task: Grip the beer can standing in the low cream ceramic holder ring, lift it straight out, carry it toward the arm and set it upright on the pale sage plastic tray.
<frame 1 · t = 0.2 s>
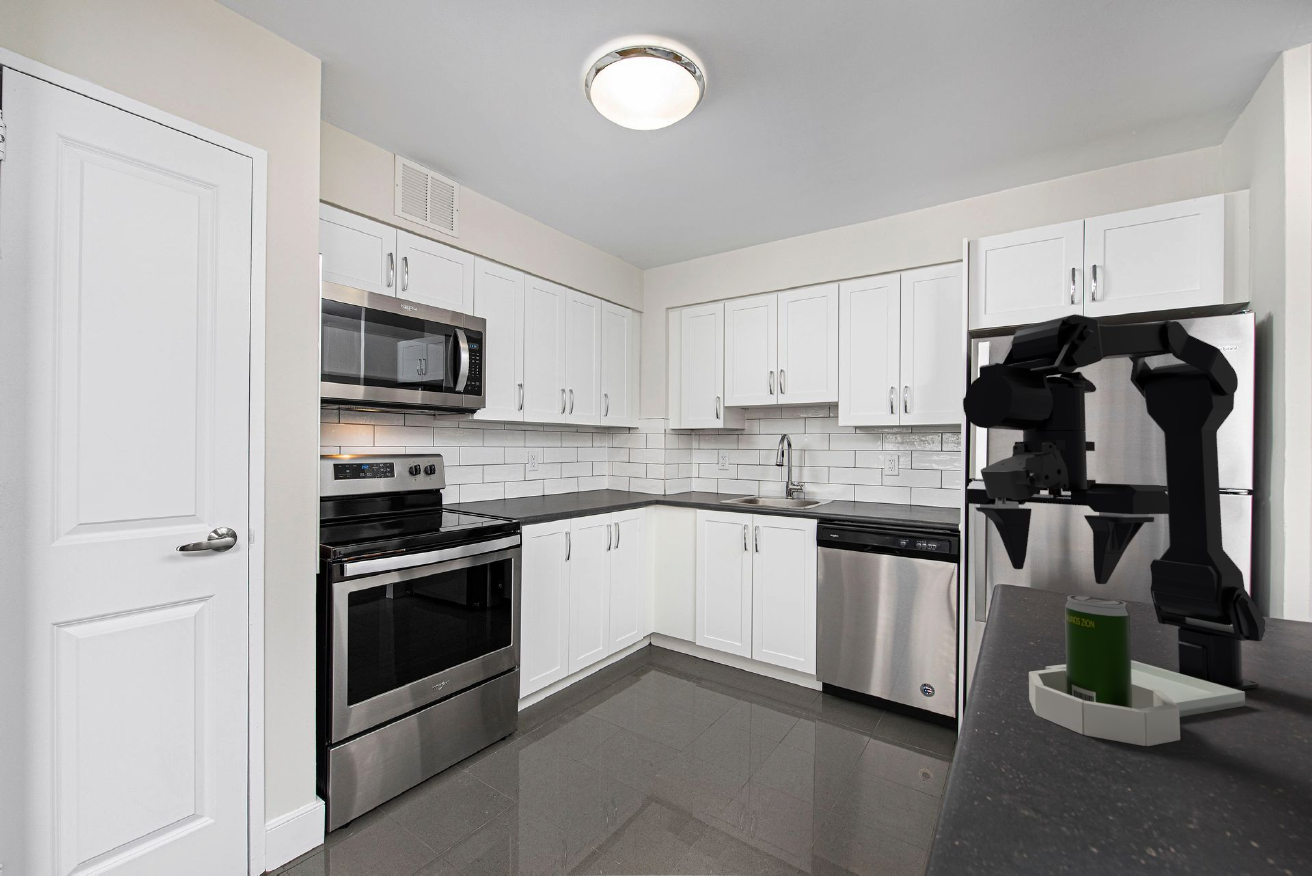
hand: (1056, 575, 63), 14 cm above the countertop, fingers open, 9 cm apart
beer can: (1099, 720, 60), resting in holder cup
tray: (1140, 691, 68), on the countertop
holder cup: (1098, 717, 60), on the countertop
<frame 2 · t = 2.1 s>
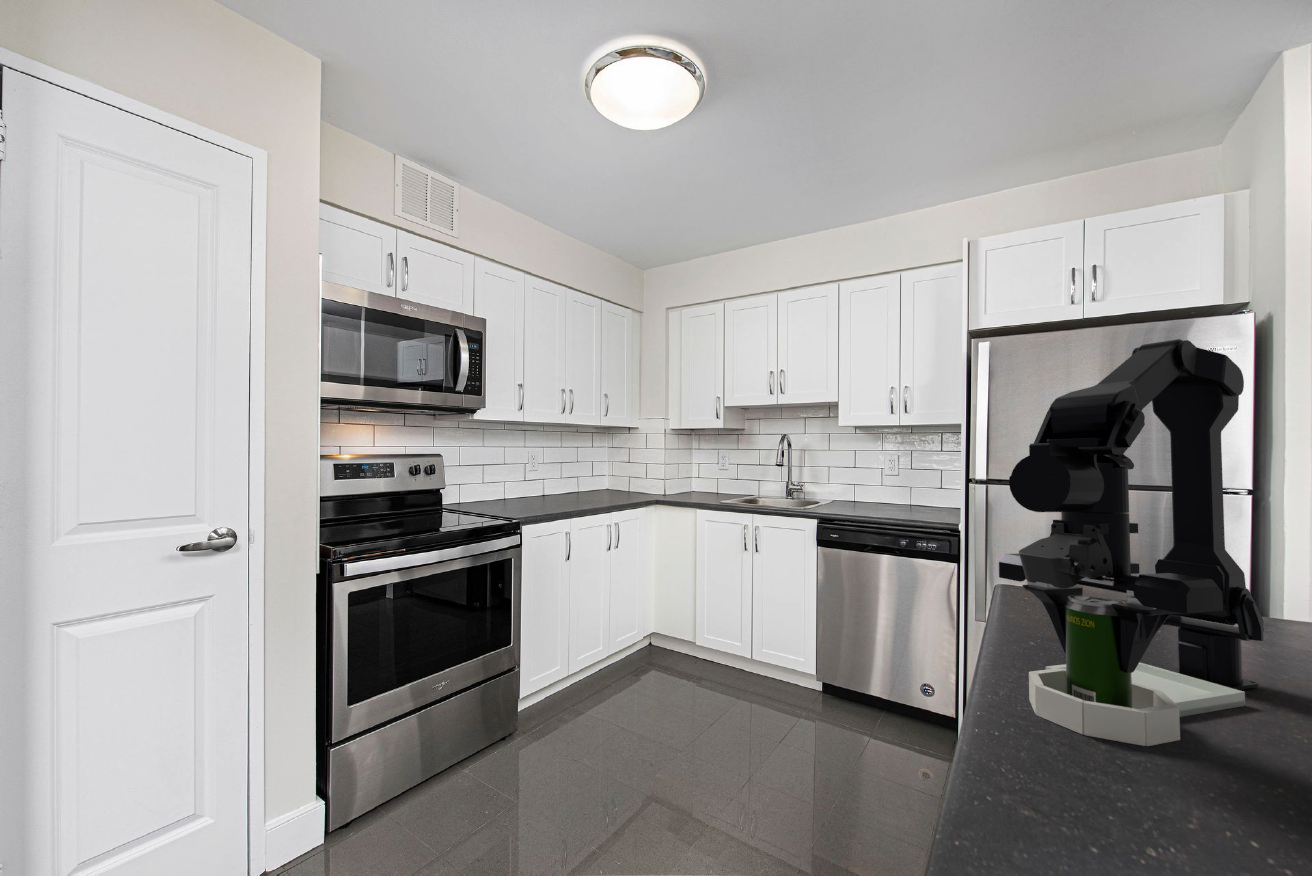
hand: (1097, 663, 60), 6 cm above the countertop, fingers closed on beer can, 5 cm apart
beer can: (1099, 720, 60), resting in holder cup, touching gripper
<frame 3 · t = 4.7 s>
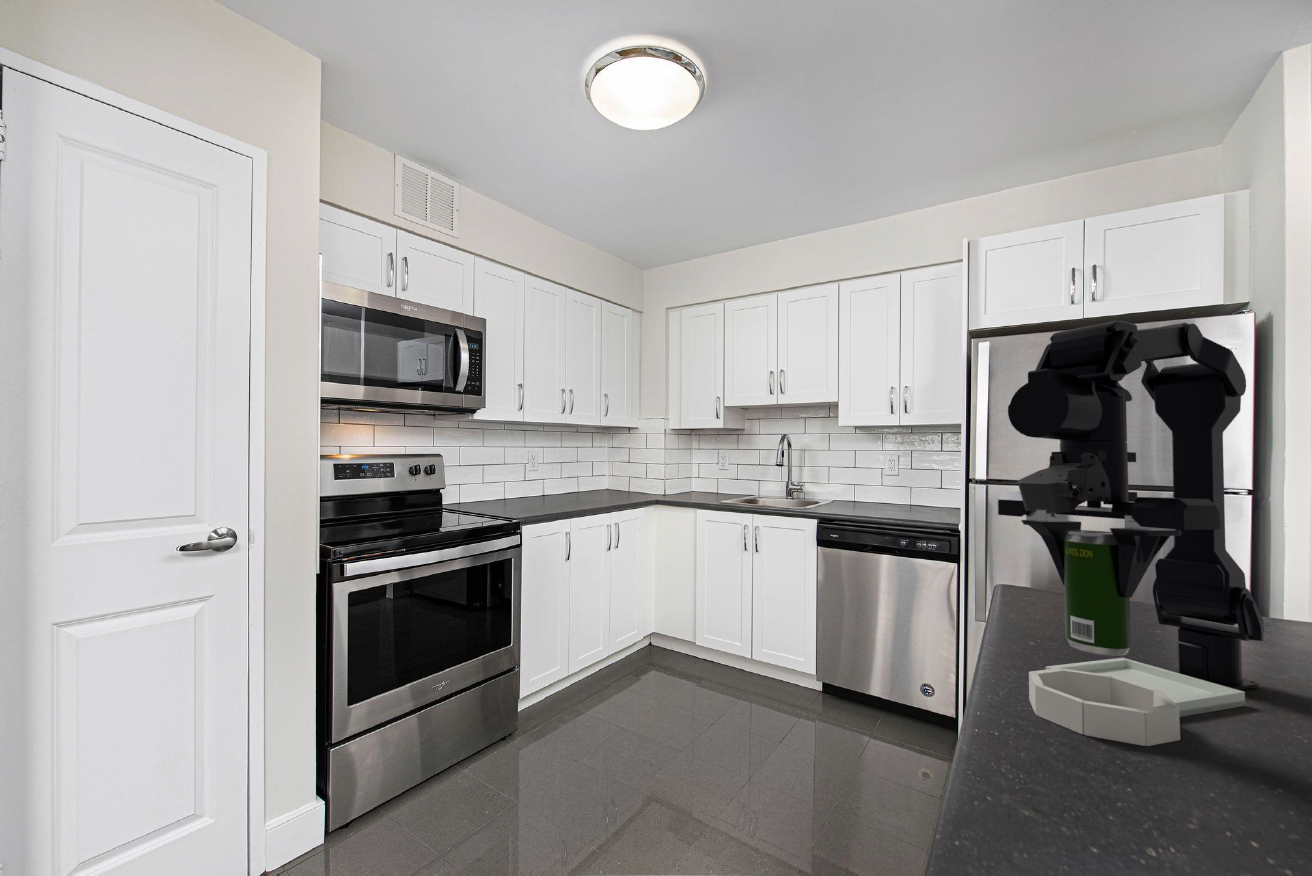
hand: (1096, 591, 60), 13 cm above the countertop, fingers closed on beer can, 5 cm apart
beer can: (1097, 650, 60), point 7 cm above the countertop, touching gripper
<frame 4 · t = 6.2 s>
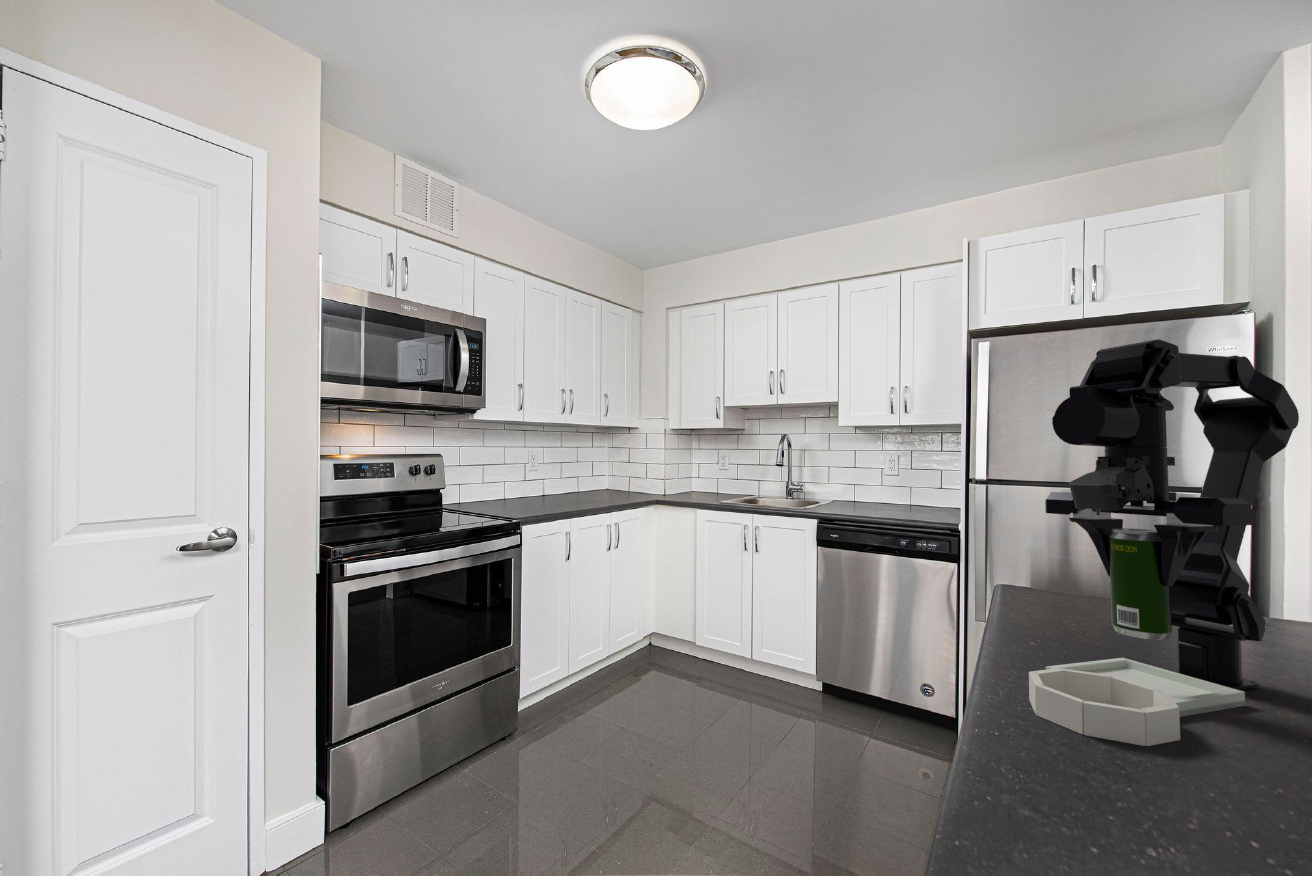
hand: (1139, 581, 68), 13 cm above the countertop, fingers closed on beer can, 5 cm apart
beer can: (1141, 635, 67), point 7 cm above the countertop, touching gripper
when the fingers open (8 cm above the countertop, at t = 7.6 s): beer can stays where it is, resting on tray.
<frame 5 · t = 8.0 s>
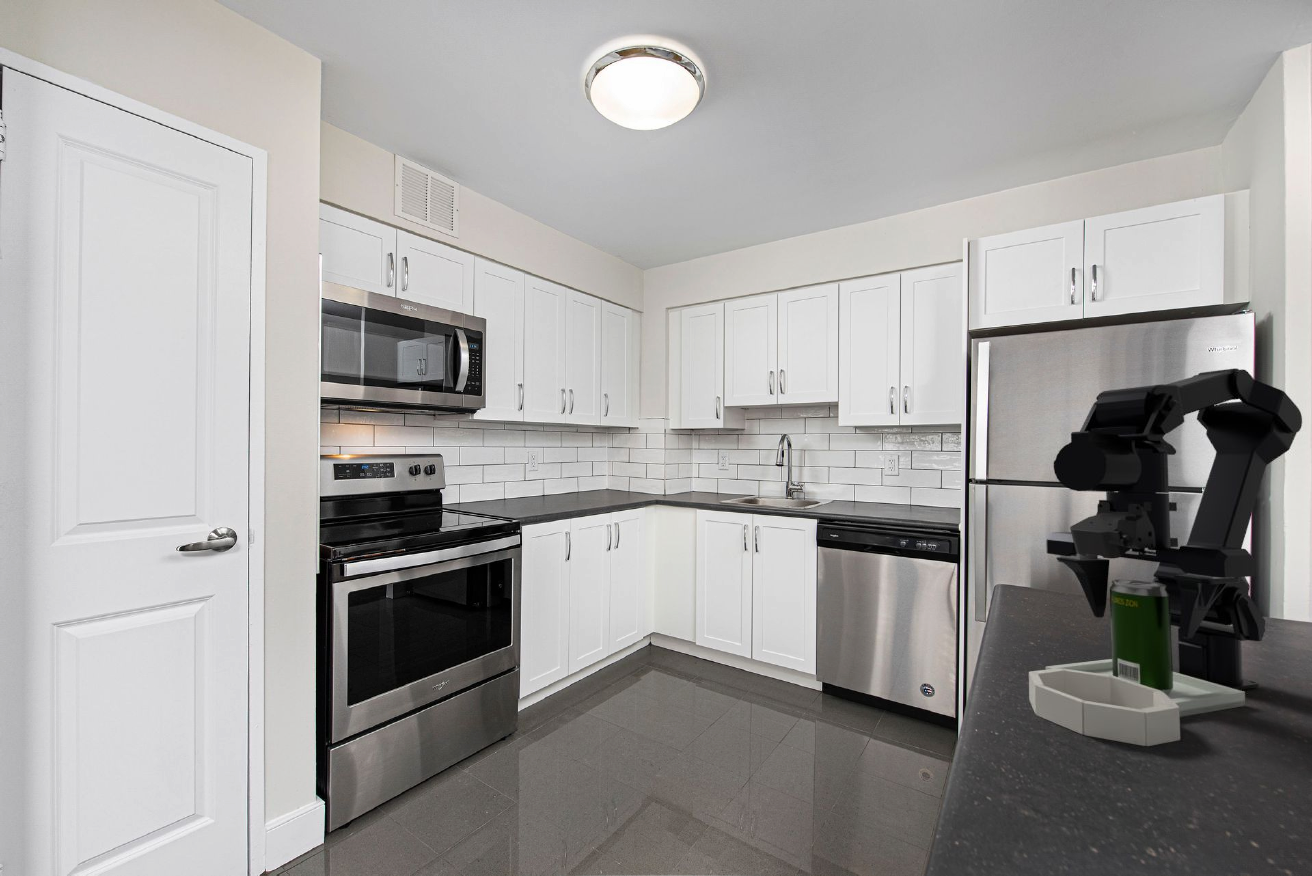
hand: (1140, 626, 67), 8 cm above the countertop, fingers open, 9 cm apart
beer can: (1142, 689, 67), resting on tray
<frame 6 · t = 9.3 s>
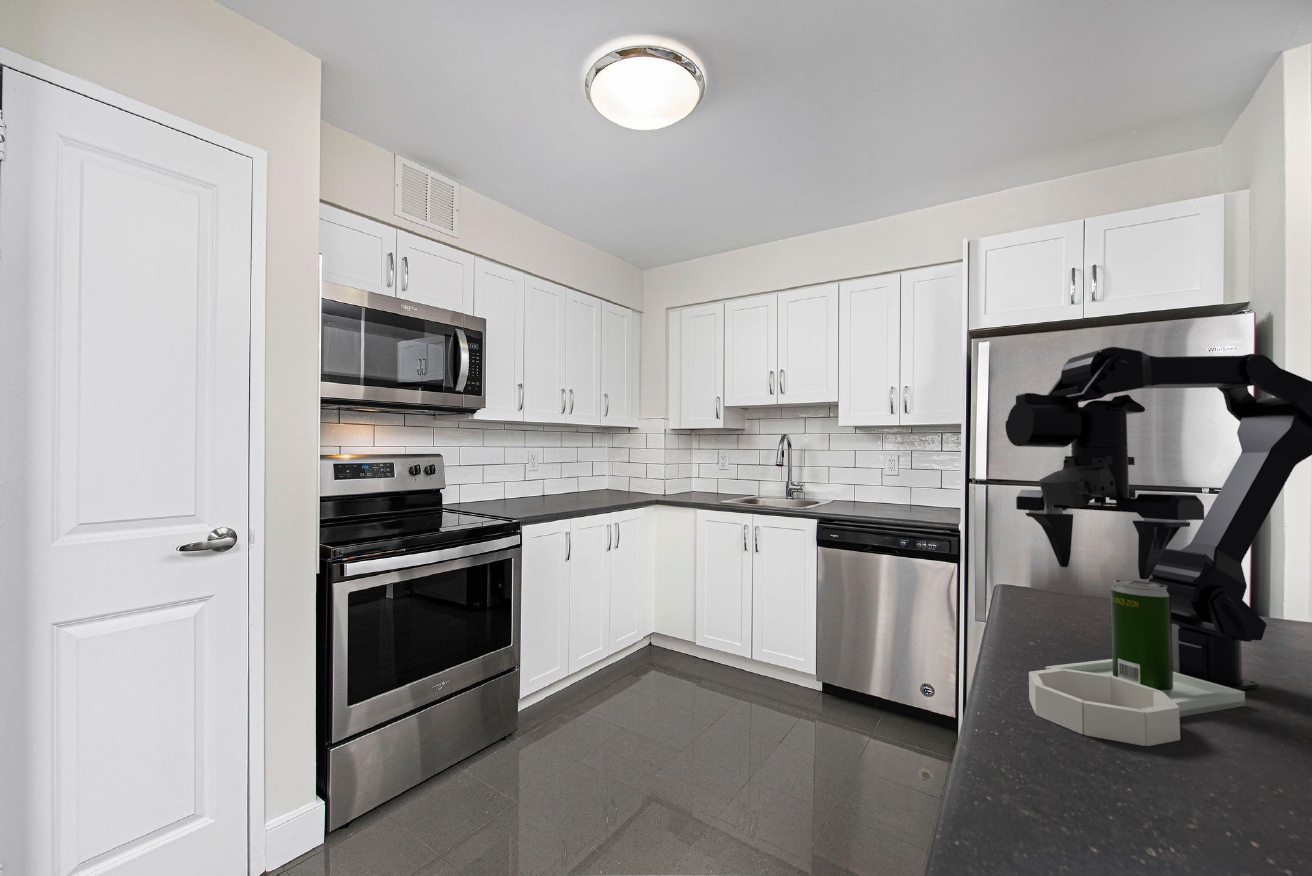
hand: (1101, 572, 73), 13 cm above the countertop, fingers open, 9 cm apart
nothing on the countertop moved.
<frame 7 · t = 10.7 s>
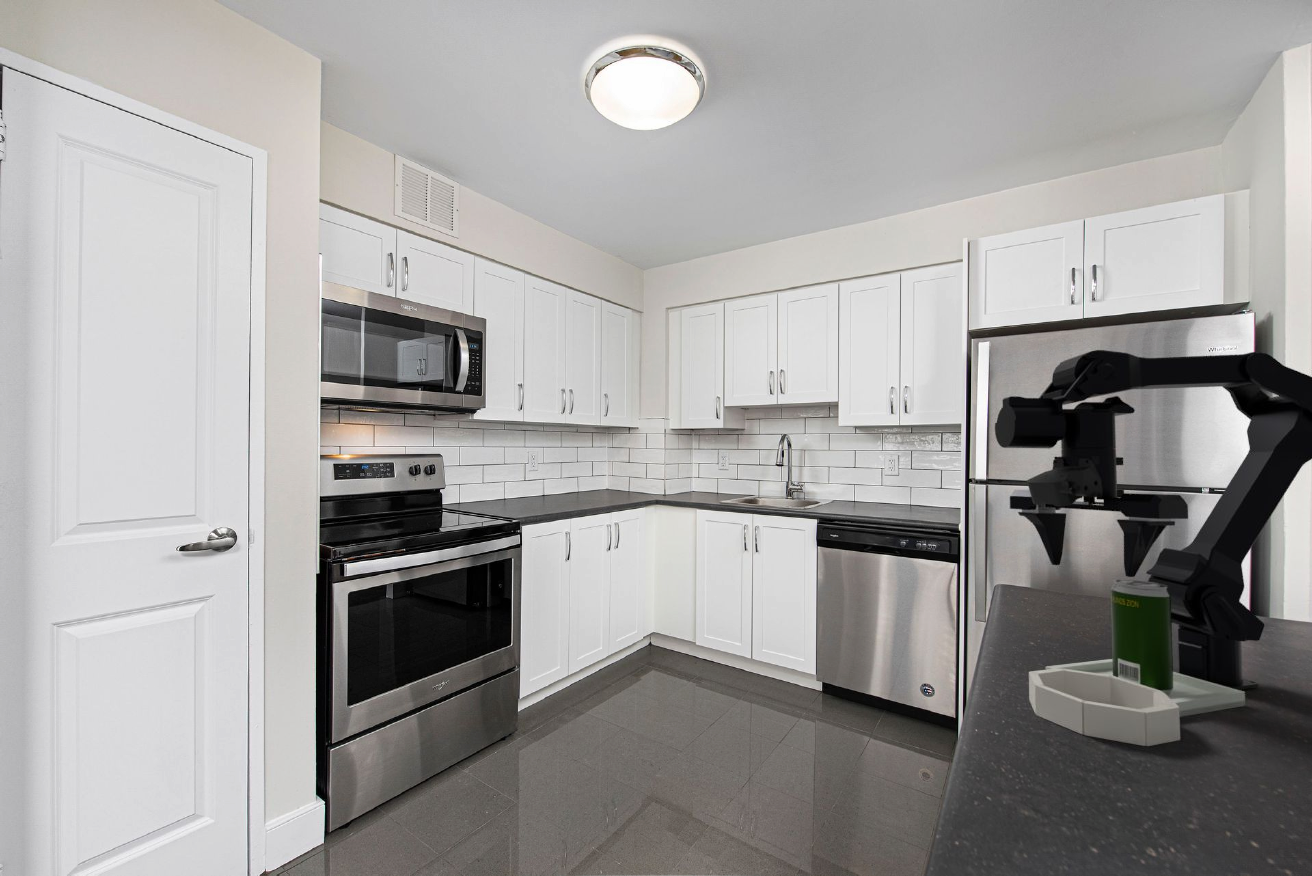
hand: (1090, 570, 74), 13 cm above the countertop, fingers open, 9 cm apart
nothing on the countertop moved.
at the end: beer can inside the target area on the tray (0.6 cm from its centre), point 0.4 cm above the tray's base; beer can tilted 0°; the gripper is holding nothing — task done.
